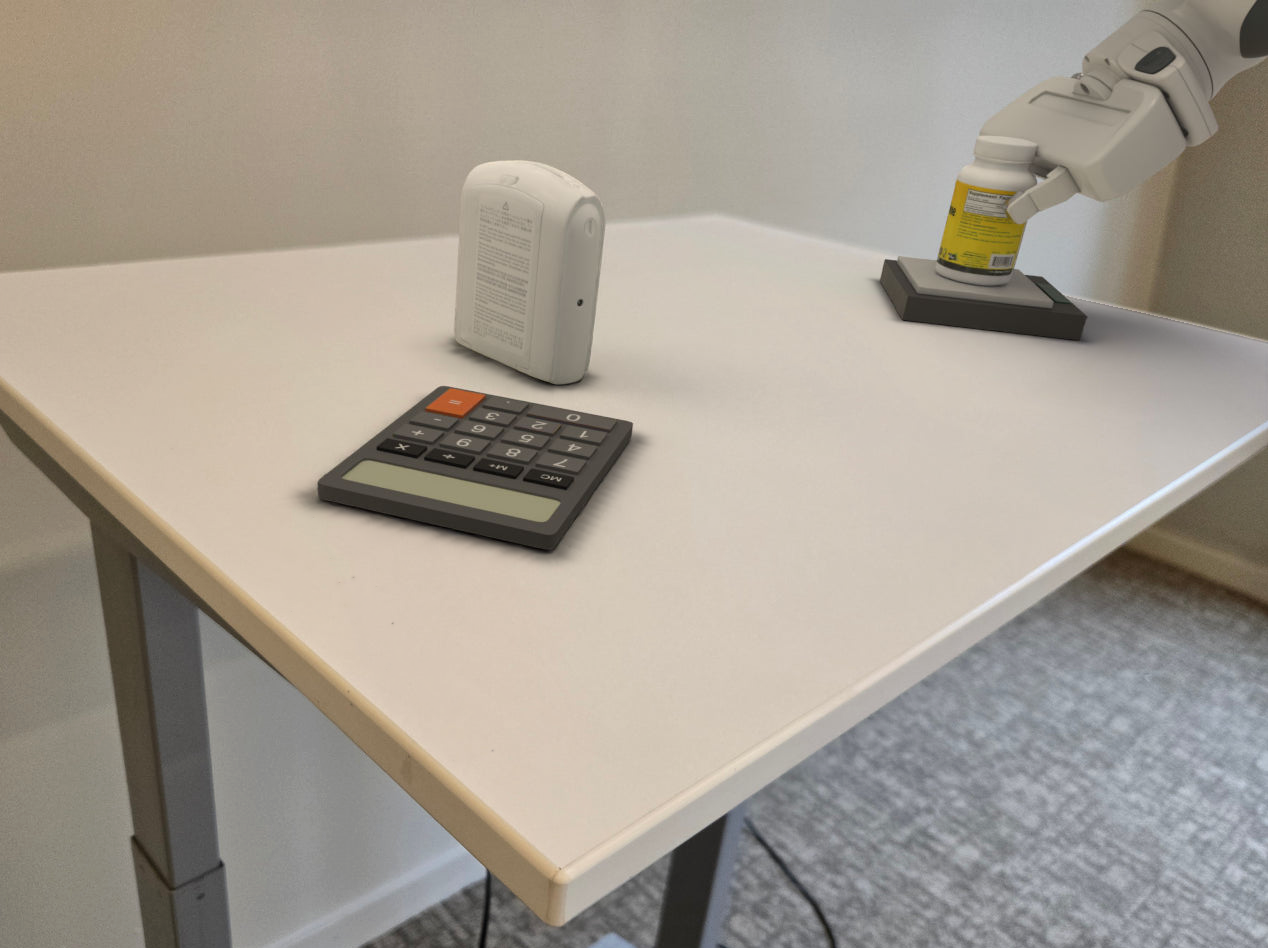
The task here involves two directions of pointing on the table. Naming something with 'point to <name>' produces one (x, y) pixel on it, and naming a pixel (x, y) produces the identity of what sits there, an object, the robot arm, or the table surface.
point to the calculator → (482, 466)
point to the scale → (980, 301)
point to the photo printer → (529, 268)
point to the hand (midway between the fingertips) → (983, 204)
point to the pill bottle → (986, 213)
